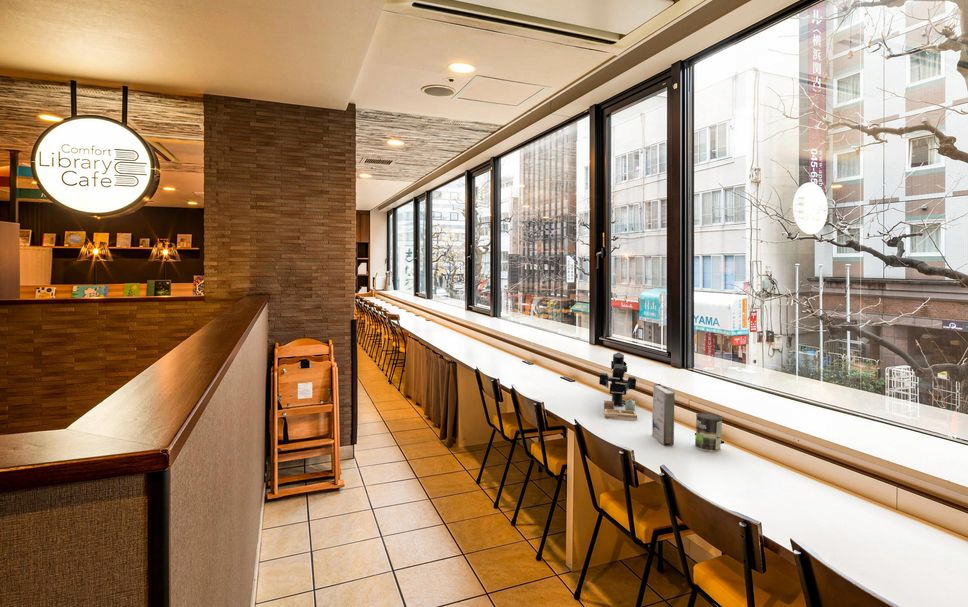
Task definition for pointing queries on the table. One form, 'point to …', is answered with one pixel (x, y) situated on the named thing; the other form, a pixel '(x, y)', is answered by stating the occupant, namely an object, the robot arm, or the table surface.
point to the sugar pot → (630, 405)
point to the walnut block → (608, 404)
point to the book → (663, 414)
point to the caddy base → (620, 414)
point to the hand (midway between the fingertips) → (617, 388)
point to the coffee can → (708, 432)
